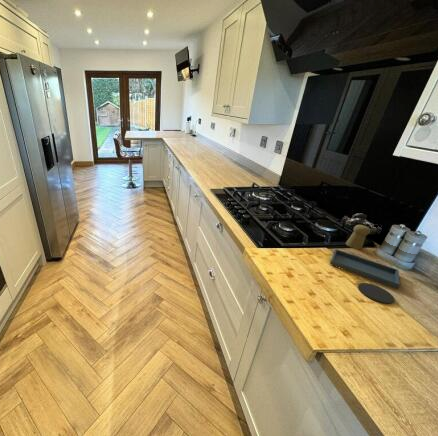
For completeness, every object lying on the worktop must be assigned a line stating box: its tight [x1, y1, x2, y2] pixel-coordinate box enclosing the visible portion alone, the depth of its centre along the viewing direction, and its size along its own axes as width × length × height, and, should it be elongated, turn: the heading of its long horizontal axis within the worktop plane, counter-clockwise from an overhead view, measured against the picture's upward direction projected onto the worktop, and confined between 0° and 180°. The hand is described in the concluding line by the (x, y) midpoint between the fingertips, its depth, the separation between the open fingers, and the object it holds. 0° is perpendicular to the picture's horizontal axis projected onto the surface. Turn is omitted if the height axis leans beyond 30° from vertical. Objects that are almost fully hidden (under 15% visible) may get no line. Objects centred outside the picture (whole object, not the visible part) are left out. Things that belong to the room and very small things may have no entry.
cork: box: [345, 225, 370, 250], centre depth 100 cm, size 6×6×11 cm
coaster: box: [357, 282, 395, 305], centre depth 77 cm, size 9×9×1 cm
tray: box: [329, 248, 401, 290], centre depth 89 cm, size 19×11×2 cm, turn 48°
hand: (359, 229), depth 106 cm, fingers open, 8 cm apart
